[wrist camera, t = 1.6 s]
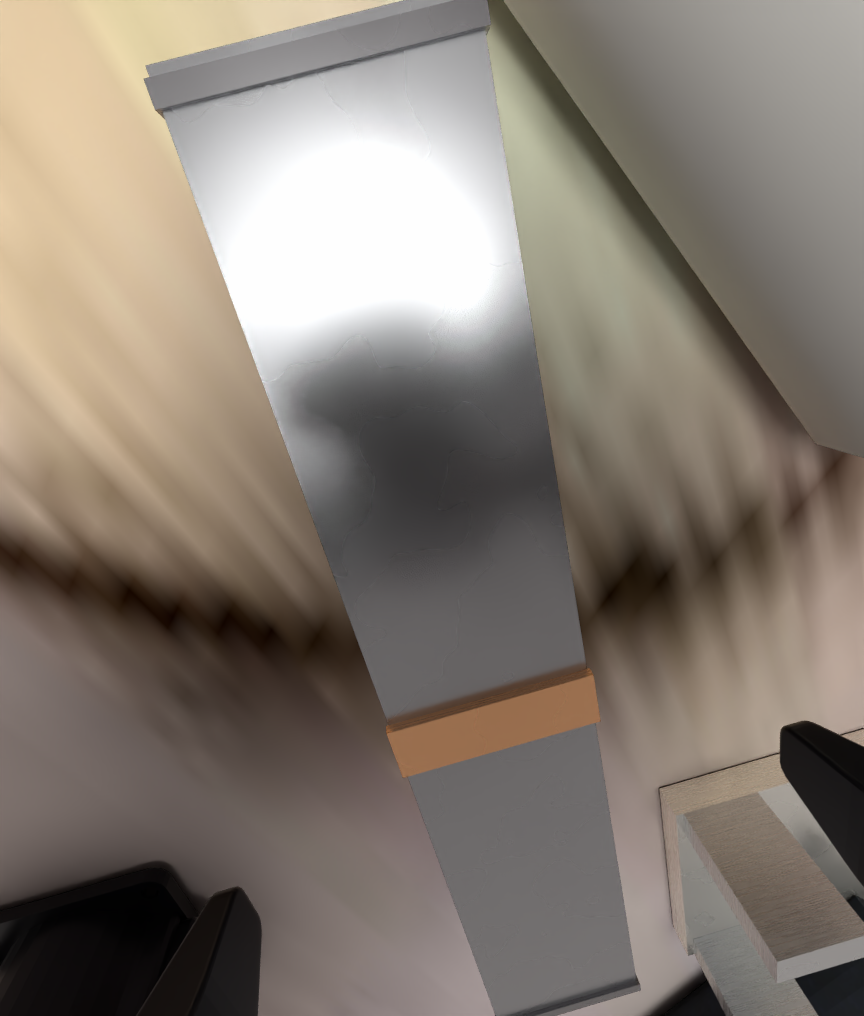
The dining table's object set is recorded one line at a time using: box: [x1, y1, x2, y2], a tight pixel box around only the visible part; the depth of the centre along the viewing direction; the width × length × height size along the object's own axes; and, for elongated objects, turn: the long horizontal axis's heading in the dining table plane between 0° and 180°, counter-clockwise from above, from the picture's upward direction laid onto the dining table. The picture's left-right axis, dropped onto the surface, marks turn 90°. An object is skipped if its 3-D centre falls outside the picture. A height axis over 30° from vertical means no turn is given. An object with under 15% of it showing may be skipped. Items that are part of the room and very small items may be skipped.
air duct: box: [144, 0, 641, 1016], centre depth 12 cm, size 22×4×4 cm, turn 14°
